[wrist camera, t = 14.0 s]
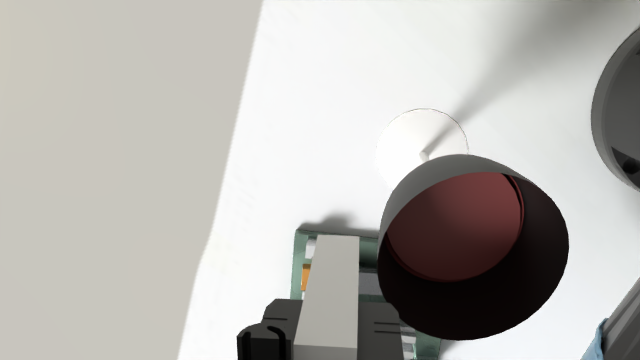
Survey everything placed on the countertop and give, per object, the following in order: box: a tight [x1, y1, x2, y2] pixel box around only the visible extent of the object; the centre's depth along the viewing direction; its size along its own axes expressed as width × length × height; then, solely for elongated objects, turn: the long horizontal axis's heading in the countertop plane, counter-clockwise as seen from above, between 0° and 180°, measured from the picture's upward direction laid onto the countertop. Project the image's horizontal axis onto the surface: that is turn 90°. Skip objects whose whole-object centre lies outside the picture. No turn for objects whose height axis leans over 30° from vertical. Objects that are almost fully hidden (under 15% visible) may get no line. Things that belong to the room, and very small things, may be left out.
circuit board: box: [290, 230, 441, 360], centre depth 44 cm, size 14×16×5 cm
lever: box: [301, 264, 383, 295], centre depth 43 cm, size 12×2×1 cm, turn 85°
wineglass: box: [376, 109, 569, 341], centre depth 32 cm, size 8×9×20 cm
